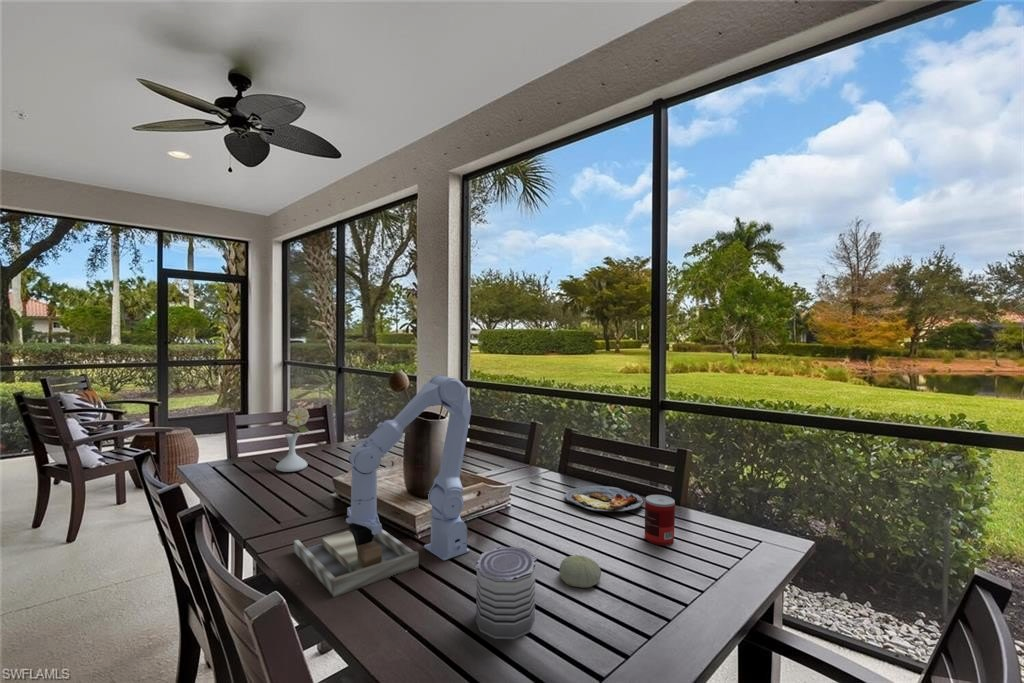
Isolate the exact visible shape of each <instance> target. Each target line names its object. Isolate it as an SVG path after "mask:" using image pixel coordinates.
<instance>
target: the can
mask: <svg viewBox="0 0 1024 683" xmlns="http://www.w3.org/2000/svg"><path fill="white" fill-rule="evenodd" d="M537 559H538V558H537V557H535V555H533V554H532V553H531V552H529V551H528V550H527V549H526V548H523V547H512V546H499V547H496V548H494V549H490V550H487V551H484V552H482V553H481V555H480V556H479V558H478V560H477V561H476V564H475V565H474V567H475V568H476V598H475V602H476V604H475V606H476V607H475V609H476V610H475V617H476V618H475V621H476V625H477V627H478V629H479V632H480V633H483V634H485V635H486V636H488V637H490V638H492V639H494V640H516V639H518V638H520V637H523V636H525V635H527V634H530V632H531V630H532V629H533V626H534V624H535V614H536V613H535V610H536V562H537Z"/></svg>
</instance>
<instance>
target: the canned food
mask: <svg viewBox="0 0 1024 683" xmlns="http://www.w3.org/2000/svg"><path fill="white" fill-rule="evenodd" d="M675 502H676V501H675V499H674V498H672V497H671V496H667V495H662V494H650V495H647V496H645V500H644V539H645V540H646V541H647V542H648V543H650V544H653V545H658V546H669V545H672V543H674V541H675V540H674V539H675V520H676V519H675V517H676V514H675V513H676V503H675Z"/></svg>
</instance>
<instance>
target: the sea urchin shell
mask: <svg viewBox="0 0 1024 683" xmlns="http://www.w3.org/2000/svg"><path fill="white" fill-rule="evenodd" d="M558 570H559V575H560V578H561V580H562V581H563V582H564V584H566V585H568V586H572V587H576V588H577V587H578V588H581V589H582V588H586V589H587V588H591V587H593V586H596V584H598V582H599V581H600V580H601V576H602V571H601V570H602V569H601V568H600V565H599V564H598V563H597V562H596V561H595V560H593V559H592V558H589V557H588V556H584V555H581V554H579V555H578V554H575V555H570V556H566V557H565V558H564V559H563V560H561V563H560V565H559V569H558Z"/></svg>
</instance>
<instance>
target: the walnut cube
mask: <svg viewBox="0 0 1024 683" xmlns="http://www.w3.org/2000/svg"><path fill="white" fill-rule="evenodd" d="M381 562H382V547H381V546H380V545H379V544H377V543H376V542H375V541H372V542H369V543H366V544H362V545H359V546H358V550H357V563H358V564H359V565H360V566H361V567H362V568H366V567H369V566H372V565H375V564H378V563H381Z"/></svg>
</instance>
